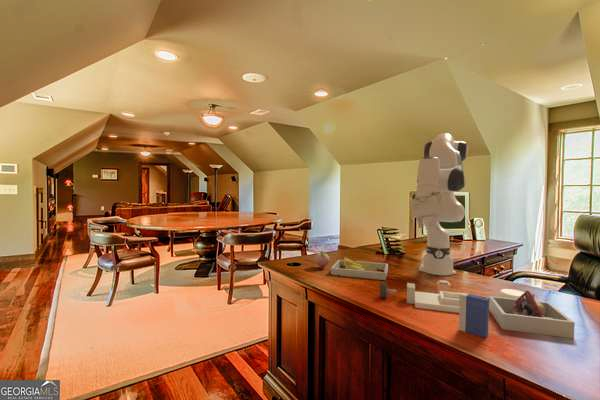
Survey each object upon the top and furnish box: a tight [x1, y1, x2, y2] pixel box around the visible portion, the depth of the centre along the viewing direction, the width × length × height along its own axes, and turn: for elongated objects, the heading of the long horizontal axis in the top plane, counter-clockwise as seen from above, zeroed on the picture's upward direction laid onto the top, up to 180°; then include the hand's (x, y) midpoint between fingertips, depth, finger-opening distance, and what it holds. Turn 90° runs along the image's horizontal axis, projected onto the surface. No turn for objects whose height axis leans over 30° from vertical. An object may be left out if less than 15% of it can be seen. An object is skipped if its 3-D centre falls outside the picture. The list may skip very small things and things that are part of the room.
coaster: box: [499, 288, 526, 299], centre depth 129 cm, size 10×10×4 cm
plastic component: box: [343, 256, 378, 272], centre depth 171 cm, size 20×7×10 cm
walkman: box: [458, 292, 490, 339], centre depth 99 cm, size 8×3×12 cm, turn 47°
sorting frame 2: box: [488, 295, 576, 339], centre depth 107 cm, size 18×19×5 cm
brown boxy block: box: [436, 279, 452, 294], centre depth 135 cm, size 5×5×6 cm
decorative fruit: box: [313, 250, 330, 269], centre depth 178 cm, size 9×8×10 cm
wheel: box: [379, 282, 398, 299], centre depth 130 cm, size 6×7×6 cm
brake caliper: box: [510, 290, 553, 319], centre depth 107 cm, size 11×11×12 cm
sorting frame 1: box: [330, 259, 389, 281], centre depth 170 cm, size 21×28×4 cm
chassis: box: [406, 282, 463, 314], centre depth 124 cm, size 14×23×6 cm, turn 71°
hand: (426, 227), depth 128 cm, fingers open, 8 cm apart
